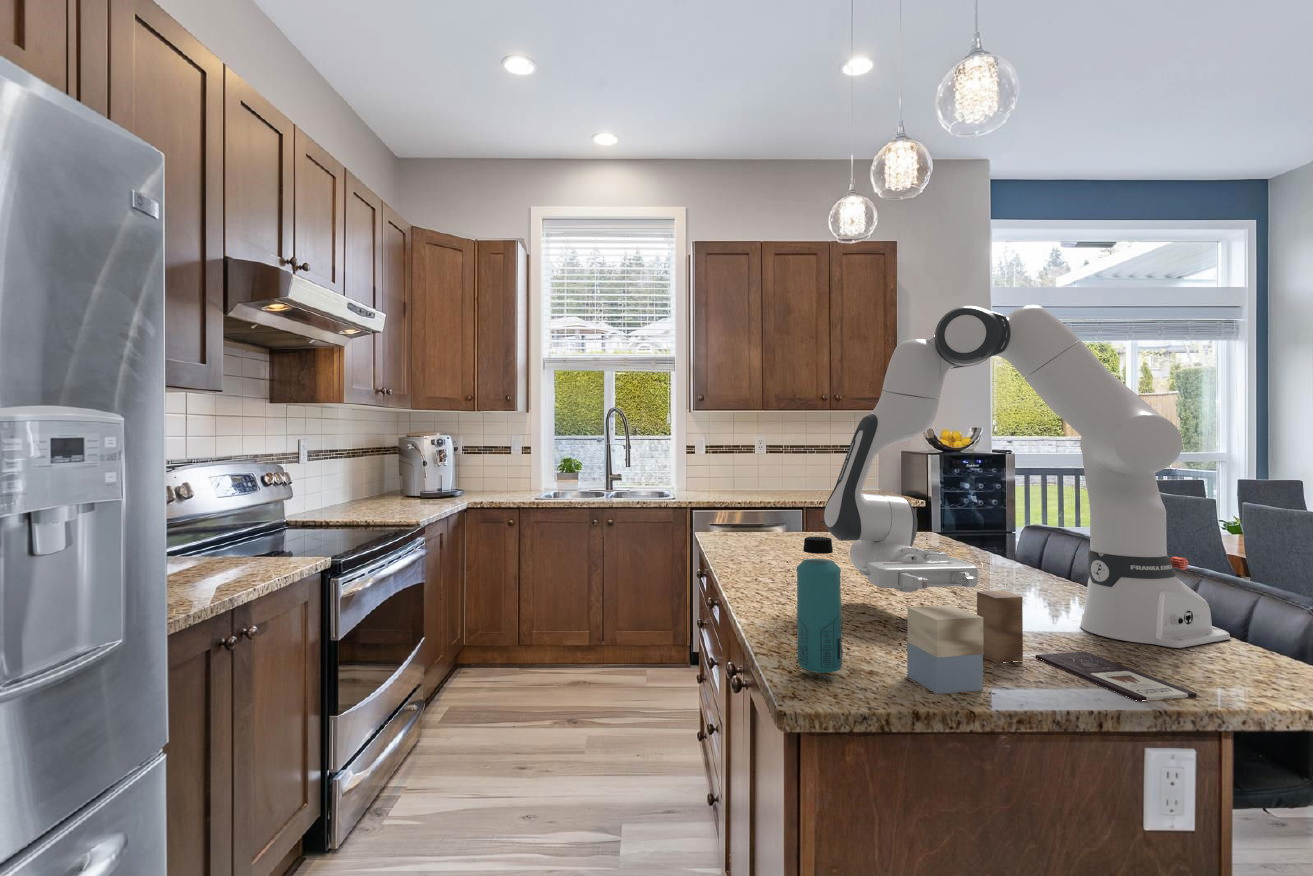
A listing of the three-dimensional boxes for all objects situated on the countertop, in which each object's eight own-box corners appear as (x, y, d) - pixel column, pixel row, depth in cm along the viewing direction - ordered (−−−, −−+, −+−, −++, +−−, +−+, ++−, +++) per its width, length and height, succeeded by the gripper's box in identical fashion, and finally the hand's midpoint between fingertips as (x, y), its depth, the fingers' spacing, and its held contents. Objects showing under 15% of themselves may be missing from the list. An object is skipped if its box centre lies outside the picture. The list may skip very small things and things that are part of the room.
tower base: (951, 674, 97) (950, 639, 97) (983, 691, 90) (982, 654, 90) (907, 677, 95) (907, 642, 95) (936, 695, 88) (936, 657, 89)
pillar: (1002, 653, 106) (1001, 590, 106) (1022, 662, 101) (1022, 596, 102) (977, 655, 105) (976, 591, 105) (996, 664, 101) (996, 598, 101)
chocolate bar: (1085, 651, 105) (1196, 693, 87) (1085, 657, 105) (1196, 700, 87) (1035, 654, 103) (1137, 697, 86) (1035, 660, 103) (1137, 705, 86)
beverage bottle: (844, 685, 92) (844, 540, 92) (795, 682, 93) (795, 539, 93) (841, 669, 98) (840, 534, 98) (795, 666, 99) (795, 533, 100)
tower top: (951, 639, 97) (950, 605, 97) (983, 654, 90) (983, 617, 90) (907, 642, 95) (907, 607, 96) (937, 657, 89) (937, 620, 89)
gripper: (854, 552, 127) (893, 566, 113) (950, 551, 131) (999, 564, 117) (854, 585, 127) (893, 603, 113) (950, 583, 131) (998, 600, 117)
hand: (948, 583), depth 115 cm, fingers open, 8 cm apart
